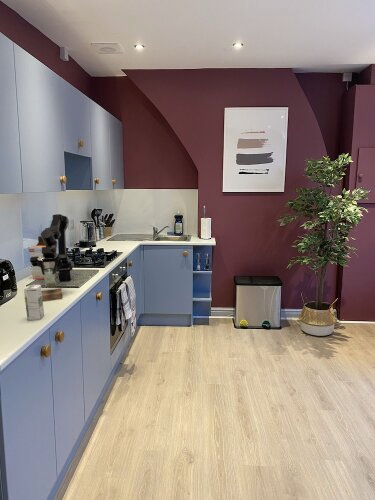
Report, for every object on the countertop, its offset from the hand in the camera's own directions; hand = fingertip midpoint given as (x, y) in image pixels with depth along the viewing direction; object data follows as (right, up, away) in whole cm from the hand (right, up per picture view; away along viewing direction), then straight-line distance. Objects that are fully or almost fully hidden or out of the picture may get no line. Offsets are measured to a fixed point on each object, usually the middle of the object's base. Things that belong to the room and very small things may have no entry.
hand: (48, 274), depth 194 cm
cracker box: (-18, -6, +44) cm, 48 cm away
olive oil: (-24, -3, +59) cm, 64 cm away
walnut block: (+1, -12, +4) cm, 13 cm away
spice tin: (0, -6, +3) cm, 7 cm away
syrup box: (+4, -18, -25) cm, 31 cm away
